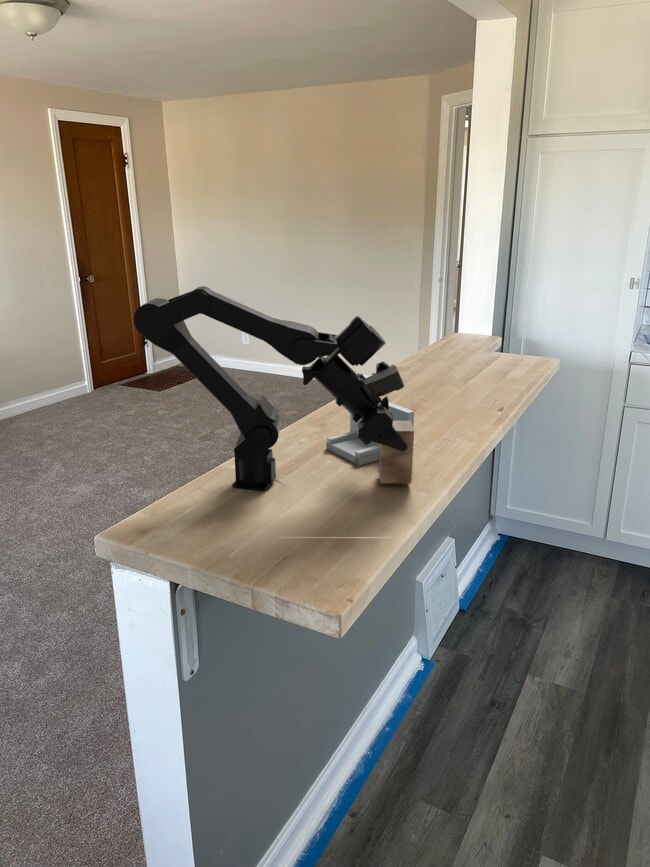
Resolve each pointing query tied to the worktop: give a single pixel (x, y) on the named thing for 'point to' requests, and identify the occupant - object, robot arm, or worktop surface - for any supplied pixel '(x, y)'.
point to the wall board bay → (354, 447)
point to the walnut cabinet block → (397, 457)
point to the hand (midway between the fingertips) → (403, 443)
